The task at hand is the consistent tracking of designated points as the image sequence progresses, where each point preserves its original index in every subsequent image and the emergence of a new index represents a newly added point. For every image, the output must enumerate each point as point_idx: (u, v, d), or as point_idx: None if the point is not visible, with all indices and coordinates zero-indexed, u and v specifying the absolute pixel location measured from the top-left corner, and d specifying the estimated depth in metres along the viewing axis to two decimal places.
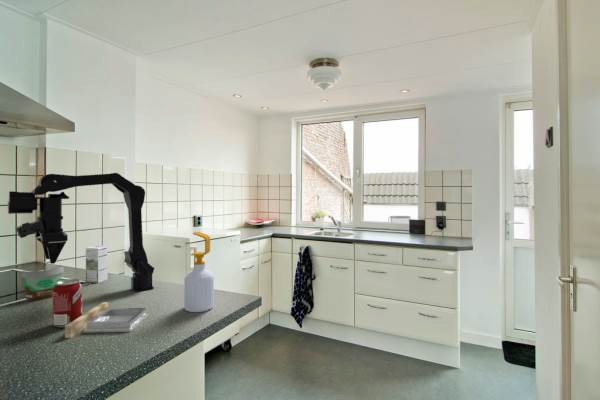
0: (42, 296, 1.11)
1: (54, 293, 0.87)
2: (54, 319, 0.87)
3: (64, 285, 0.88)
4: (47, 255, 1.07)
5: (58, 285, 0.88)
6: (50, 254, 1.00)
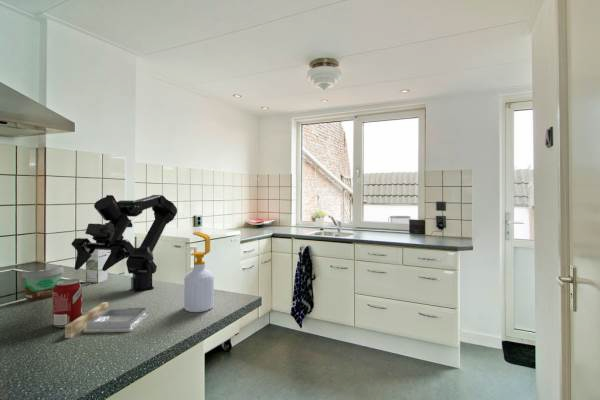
0: (42, 296, 1.11)
1: (54, 293, 0.87)
2: (54, 319, 0.87)
3: (64, 285, 0.88)
4: (78, 265, 0.99)
5: (58, 285, 0.88)
6: (110, 260, 0.99)
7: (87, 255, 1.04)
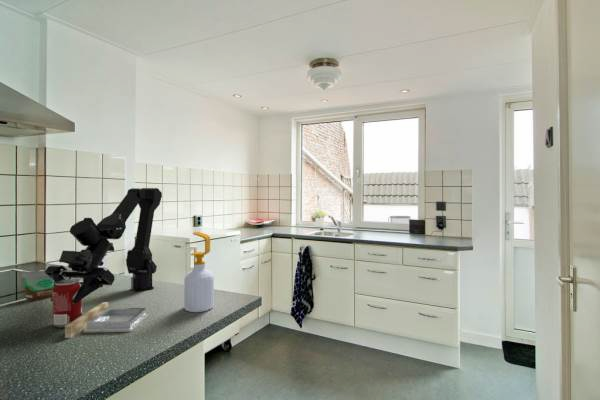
0: (42, 296, 1.11)
1: (54, 293, 0.87)
2: (54, 319, 0.87)
3: (64, 285, 0.88)
4: None
5: (58, 285, 0.88)
6: (82, 291, 0.90)
7: None
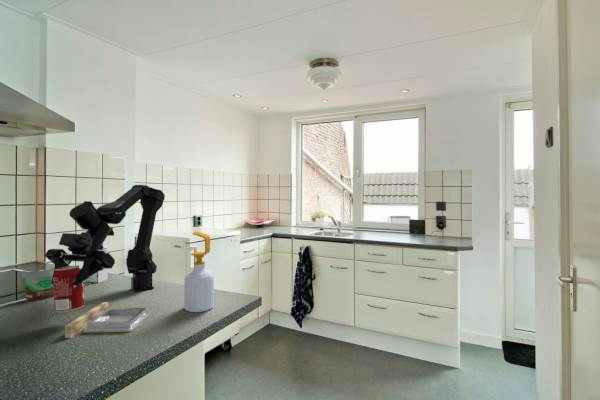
0: (42, 296, 1.11)
1: (54, 278, 0.87)
2: (56, 305, 0.87)
3: (64, 270, 0.88)
4: None
5: (58, 270, 0.88)
6: (82, 274, 0.90)
7: None
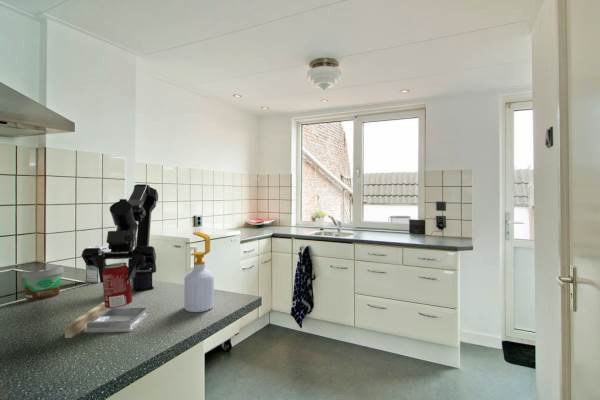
0: (42, 296, 1.11)
1: (108, 276, 0.88)
2: (110, 302, 0.88)
3: (118, 267, 0.89)
4: None
5: (111, 267, 0.89)
6: (132, 269, 0.93)
7: None
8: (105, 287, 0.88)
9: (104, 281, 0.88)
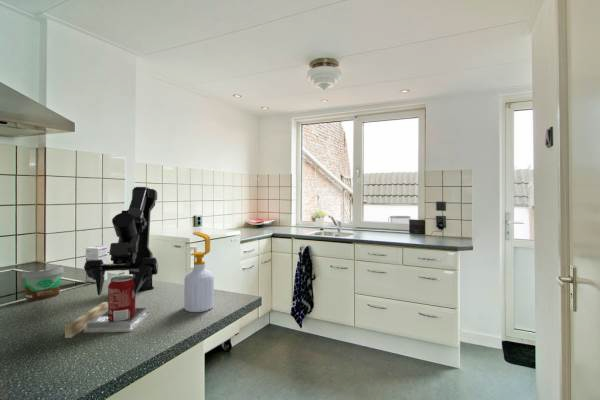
0: (42, 296, 1.11)
1: (115, 290, 0.88)
2: (114, 315, 0.88)
3: (124, 281, 0.90)
4: (100, 290, 0.90)
5: (118, 282, 0.89)
6: (140, 281, 0.93)
7: (103, 278, 0.94)
8: (110, 300, 0.89)
9: (110, 294, 0.89)
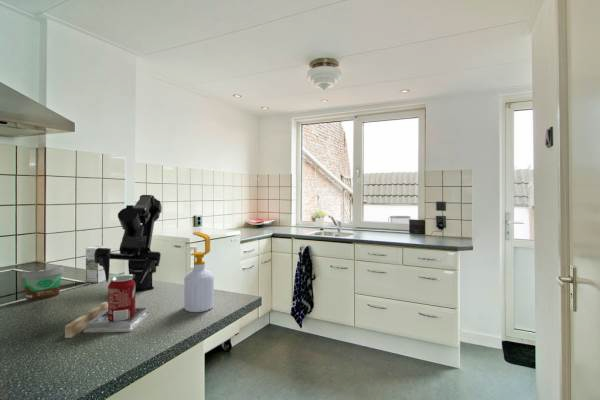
0: (42, 296, 1.11)
1: (115, 290, 0.88)
2: (114, 315, 0.88)
3: (124, 281, 0.90)
4: (108, 277, 0.98)
5: (118, 281, 0.89)
6: (145, 272, 1.03)
7: (109, 265, 1.02)
8: (110, 300, 0.89)
9: (110, 294, 0.89)
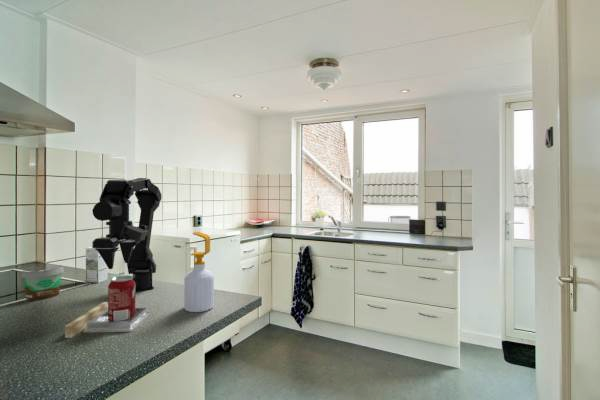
0: (42, 296, 1.11)
1: (115, 290, 0.88)
2: (114, 315, 0.88)
3: (124, 281, 0.90)
4: None
5: (118, 281, 0.89)
6: None
7: None
8: (110, 300, 0.89)
9: (110, 294, 0.89)
